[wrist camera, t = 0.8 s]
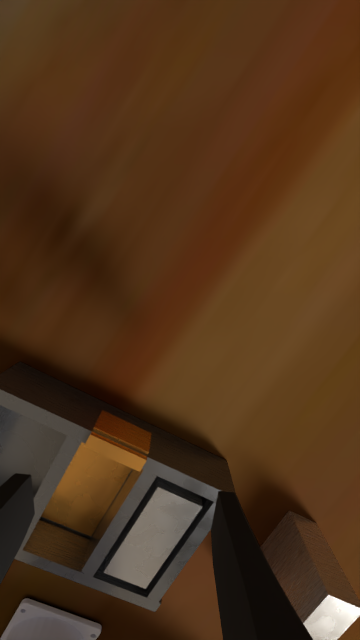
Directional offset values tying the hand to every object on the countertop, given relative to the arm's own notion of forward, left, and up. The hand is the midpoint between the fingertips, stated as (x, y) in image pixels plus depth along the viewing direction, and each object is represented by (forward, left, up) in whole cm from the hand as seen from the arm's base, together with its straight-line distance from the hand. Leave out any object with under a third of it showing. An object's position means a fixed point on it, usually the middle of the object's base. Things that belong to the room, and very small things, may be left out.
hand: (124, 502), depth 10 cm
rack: (-9, 0, -10) cm, 13 cm away
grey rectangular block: (-9, -18, -10) cm, 22 cm away
